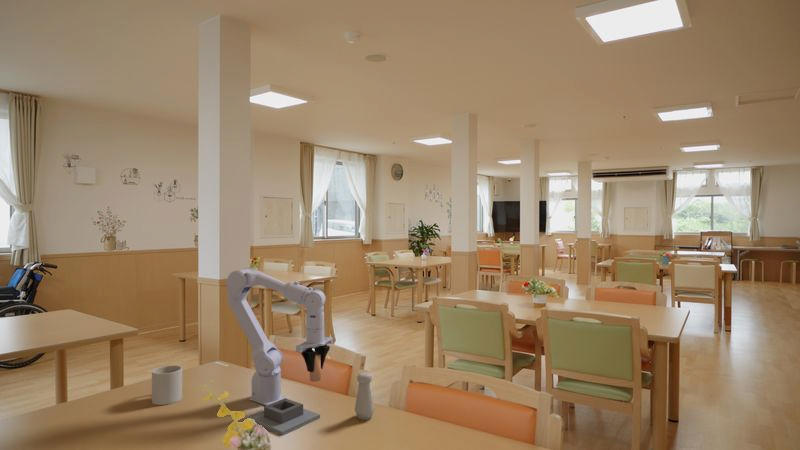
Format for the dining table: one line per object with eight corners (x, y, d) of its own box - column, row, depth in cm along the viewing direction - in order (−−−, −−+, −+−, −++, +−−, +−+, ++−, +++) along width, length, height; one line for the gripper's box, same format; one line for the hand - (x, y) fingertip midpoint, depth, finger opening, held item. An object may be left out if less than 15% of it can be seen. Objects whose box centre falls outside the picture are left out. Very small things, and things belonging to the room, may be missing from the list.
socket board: (246, 420, 133) (246, 406, 133) (284, 405, 144) (284, 392, 144) (282, 435, 123) (282, 420, 123) (320, 417, 135) (320, 404, 135)
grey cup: (173, 405, 144) (173, 373, 144) (144, 405, 144) (143, 373, 144) (190, 392, 155) (190, 363, 155) (162, 392, 155) (162, 363, 155)
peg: (307, 380, 147) (307, 355, 147) (315, 377, 150) (315, 353, 150) (315, 382, 145) (315, 357, 145) (322, 379, 148) (322, 354, 148)
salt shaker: (371, 422, 132) (371, 377, 132) (352, 420, 133) (352, 376, 133) (376, 413, 137) (376, 371, 137) (358, 412, 138) (358, 369, 138)
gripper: (306, 334, 139) (306, 378, 139) (339, 325, 151) (339, 366, 151) (291, 330, 143) (291, 373, 143) (324, 322, 155) (324, 362, 155)
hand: (315, 369), depth 147 cm, fingers closed on peg, 3 cm apart
